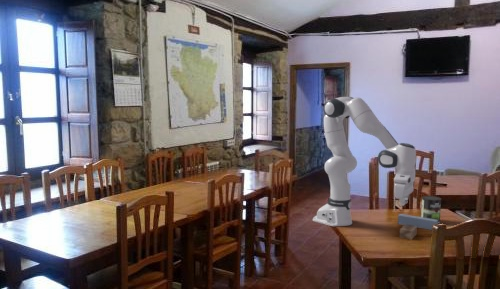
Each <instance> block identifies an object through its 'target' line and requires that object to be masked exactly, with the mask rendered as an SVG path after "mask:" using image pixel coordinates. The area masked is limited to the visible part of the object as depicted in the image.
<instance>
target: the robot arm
mask: <svg viewBox="0 0 500 289" xmlns="http://www.w3.org/2000/svg"><path fill="white" fill-rule="evenodd" d="M323 111H324V114H325V115H324V116H323V131H324V137H325V142H326V146H327V148H328V149H329V150H330V151H331V153H332V156H331V157H329V158H328V159H327V160H326V161H325V162H324V171H325V173H326V174H327V176H328V179H329V185H330V190H329V192H330V196H329V197H328V198H326V199H325V202H327V203H326V204H324V205H322V206H321V207H319V209H318V210H317V212H316V215H314V216H313V217H312V221H313V222H315V223H319V224H322V225H323V224H324V225H327V226H330V227H346V226H351V225H352V224H353V221H352V214H351V208H352V201H351V200H352V199H351V184H350V183H349V180H348V176H347V174H349V173H352V172H353V171H355V169H357V166H358V161H357V158H356V157H355V156H354V155H353V153H352V152H351V148H350V147H349V144H348V141H347V136H346V133H345V127H344V119H349V118H350V119H351V120H352V122H353V124H354V125H355V127H356V128H357V129H358V130H359V132H360V133H363V134H367V135H371V136H374V137H375V138H377V139H378V140H379V141H380V143H381V144H382V145H383V146H384V148H385V149H383V150H381V151H379V153H378V155H377V162H378V164H379V165H380V167H382V168H385V169H391V168H395V175H394V178H393V183H394V196H395V199H396V200H399V201H400V206H402V207H404V206H405V205H407V204H408V203H409V202H408V201H409V197H410V195H411V194H412V193H413V192H414V182H415V181H416V167H415V166H416V163H417V151H416V147H415V146H414V145H413V144H410V143H406V142H400V143H398V141H397V140H396V139H395V138H394V136H393V135H392V134H391V133H390V131H389V130H388V129H387V128H386V127H385V125H384V124H382V122H381V121H380V120H379V118H378V117H377V116H376V114H375V113H374V111H373V110H372V109H371V107H370V106H369V105H368V103H366V101H365V100H364V99H362V98H361V97H352V96H340V97H335V98H334V97H333V98H330V99H327V100H326V101H325V102H324V105H323Z"/></svg>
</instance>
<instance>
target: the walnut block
mask: <svg viewBox="0 0 500 289" xmlns="http://www.w3.org/2000/svg"><path fill="white" fill-rule="evenodd" d="M417 232H418V227H417V226H412V225H406V224H405V225H402V227H400V228H399V238H401V239H406V240H407V239H408V240H413V239H414V238H415V237H416V236H417V234H418V233H417Z"/></svg>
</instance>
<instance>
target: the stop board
mask: <svg viewBox="0 0 500 289" xmlns="http://www.w3.org/2000/svg"><path fill="white" fill-rule="evenodd" d="M405 224H406V225H412V226H417V229H418V228H419V229H425V230H431V231H433V230H432V226H433V225H434V224H438V220H435V219H429V218H423V217H421V216H417V215H416V216H415V215H410V214H404V213H399V214H398V215H397V225H401V226H404V225H405Z"/></svg>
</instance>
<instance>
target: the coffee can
mask: <svg viewBox="0 0 500 289" xmlns="http://www.w3.org/2000/svg"><path fill="white" fill-rule="evenodd" d="M441 205H442V197H439V196H435V195H423V196H422V197H421V210H420V212H421V215H420V217H423V218H429V219H435V220H438V223H439V224H440V223H441V210H442V209H441V208H442V207H441Z"/></svg>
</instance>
